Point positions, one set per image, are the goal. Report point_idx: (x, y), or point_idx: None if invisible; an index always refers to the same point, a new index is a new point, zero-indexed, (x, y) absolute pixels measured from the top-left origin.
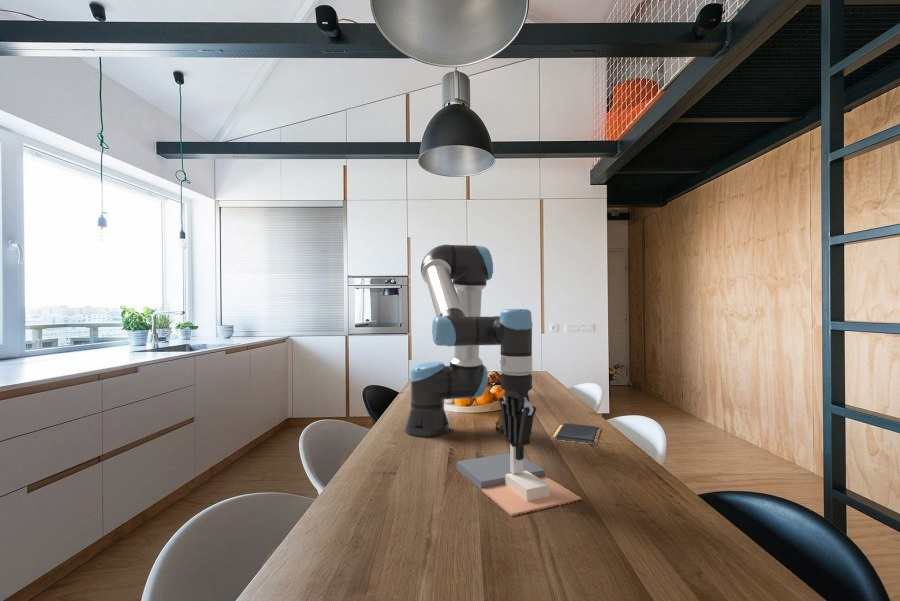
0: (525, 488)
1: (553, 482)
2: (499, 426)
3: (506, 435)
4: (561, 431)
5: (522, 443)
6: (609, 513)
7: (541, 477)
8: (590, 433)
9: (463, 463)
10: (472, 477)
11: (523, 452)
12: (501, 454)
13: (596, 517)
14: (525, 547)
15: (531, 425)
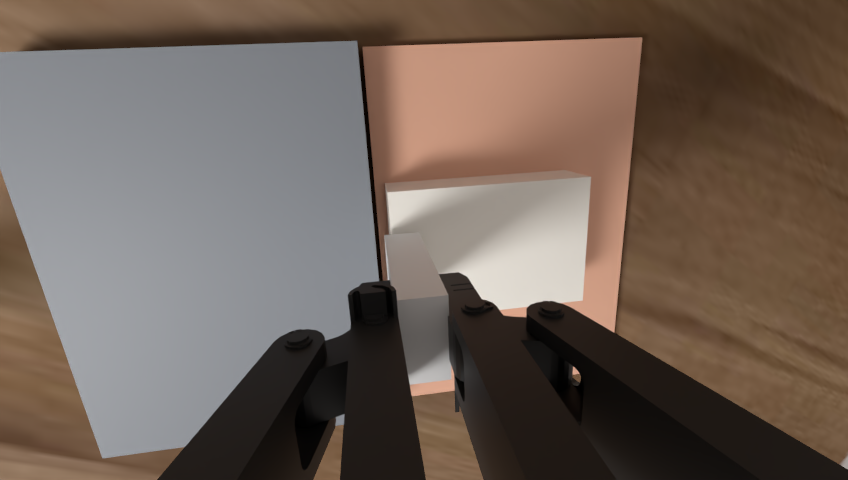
0: (572, 301)
1: (449, 56)
2: None
3: (329, 429)
4: None
5: (572, 379)
6: (768, 5)
7: (371, 81)
8: None
9: (141, 434)
10: None
11: (476, 291)
12: (7, 177)
13: (758, 84)
14: (747, 390)
15: (768, 434)
